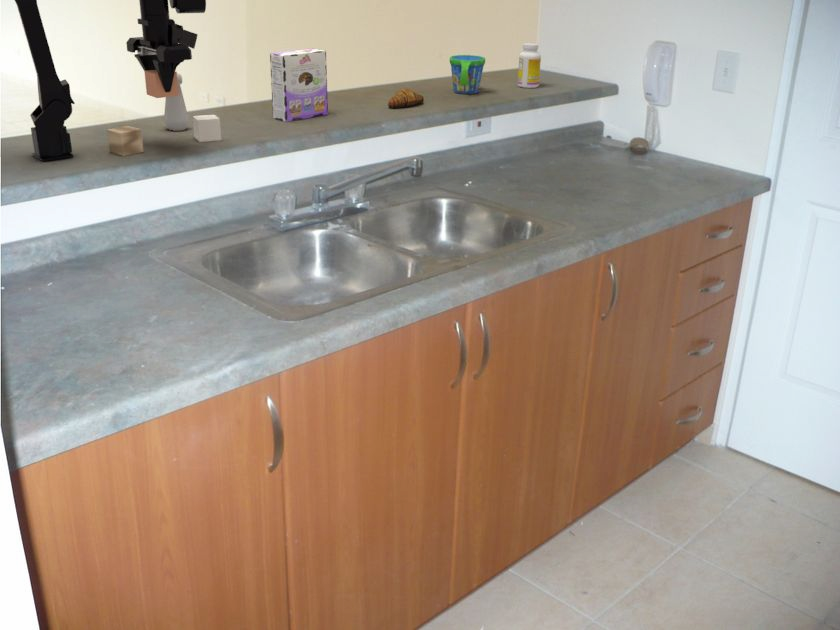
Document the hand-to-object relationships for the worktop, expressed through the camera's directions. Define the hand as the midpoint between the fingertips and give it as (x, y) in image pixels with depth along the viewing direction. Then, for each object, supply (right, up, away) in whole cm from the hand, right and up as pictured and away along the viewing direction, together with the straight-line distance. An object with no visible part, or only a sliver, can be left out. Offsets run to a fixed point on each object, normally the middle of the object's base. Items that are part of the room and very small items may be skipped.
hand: (162, 90), depth 190 cm
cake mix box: (+25, +2, +37) cm, 45 cm away
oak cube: (-8, -13, 0) cm, 15 cm away
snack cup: (+69, +18, +74) cm, 103 cm away
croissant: (+52, +9, +54) cm, 75 cm away
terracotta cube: (0, -1, 0) cm, 1 cm away
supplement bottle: (+89, +23, +86) cm, 126 cm away
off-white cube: (+7, -8, +13) cm, 17 cm away
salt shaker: (-3, -4, +21) cm, 22 cm away
